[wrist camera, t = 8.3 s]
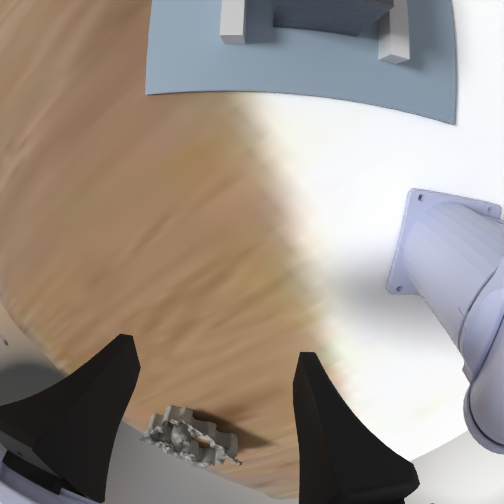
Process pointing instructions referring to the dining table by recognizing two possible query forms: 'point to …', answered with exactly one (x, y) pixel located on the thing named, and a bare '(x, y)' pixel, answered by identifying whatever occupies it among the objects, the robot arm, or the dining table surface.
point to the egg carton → (190, 438)
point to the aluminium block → (329, 15)
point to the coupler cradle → (306, 55)
